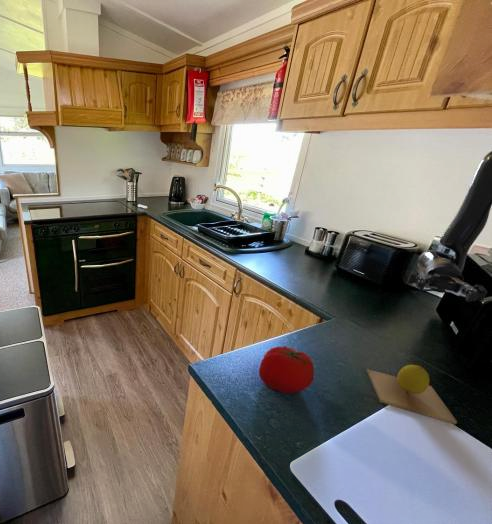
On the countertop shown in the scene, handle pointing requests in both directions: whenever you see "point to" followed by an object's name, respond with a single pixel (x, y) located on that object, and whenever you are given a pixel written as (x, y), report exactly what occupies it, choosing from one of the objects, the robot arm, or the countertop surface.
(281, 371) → the tomato
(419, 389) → the lemon
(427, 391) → the board
